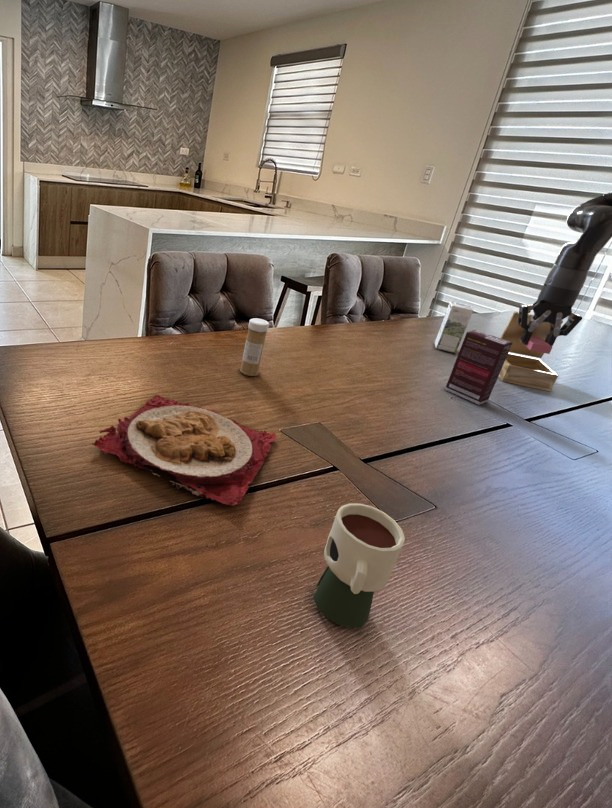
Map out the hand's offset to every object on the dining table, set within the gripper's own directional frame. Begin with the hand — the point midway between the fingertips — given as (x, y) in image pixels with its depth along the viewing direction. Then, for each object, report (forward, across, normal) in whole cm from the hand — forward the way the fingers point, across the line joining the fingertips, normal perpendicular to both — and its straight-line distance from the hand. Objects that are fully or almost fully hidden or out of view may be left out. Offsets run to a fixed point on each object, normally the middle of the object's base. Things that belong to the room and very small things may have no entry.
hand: (534, 345), depth 127 cm
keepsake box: (+10, 0, -1) cm, 10 cm away
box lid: (-1, 0, -5) cm, 5 cm away
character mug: (+11, +52, +97) cm, 111 cm away
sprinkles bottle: (+11, +71, +37) cm, 81 cm away
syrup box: (+10, +16, -14) cm, 24 cm away
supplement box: (+10, +19, +21) cm, 30 cm away
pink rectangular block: (+1, 0, 0) cm, 1 cm away
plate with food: (+11, +77, +73) cm, 107 cm away
